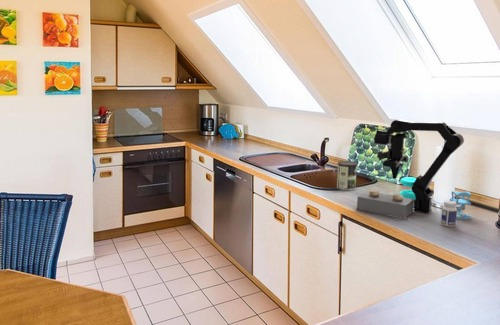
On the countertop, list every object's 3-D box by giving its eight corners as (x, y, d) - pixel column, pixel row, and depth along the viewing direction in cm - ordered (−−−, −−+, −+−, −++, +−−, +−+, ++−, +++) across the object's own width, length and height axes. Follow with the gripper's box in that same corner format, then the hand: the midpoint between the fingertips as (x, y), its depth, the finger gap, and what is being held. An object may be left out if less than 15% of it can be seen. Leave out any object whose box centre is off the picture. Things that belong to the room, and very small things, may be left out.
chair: (463, 213, 197) (465, 187, 194) (471, 219, 189) (474, 192, 186) (445, 213, 197) (448, 187, 195) (453, 219, 189) (456, 192, 186)
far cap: (379, 204, 203) (380, 191, 202) (376, 207, 200) (377, 193, 199) (370, 203, 206) (371, 189, 205) (367, 205, 203) (367, 191, 201)
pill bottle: (456, 224, 183) (458, 201, 181) (454, 228, 178) (457, 204, 176) (441, 221, 185) (443, 199, 183) (439, 225, 181) (441, 202, 179)
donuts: (400, 176, 224) (420, 177, 221) (398, 194, 226) (418, 196, 223) (402, 180, 214) (423, 182, 212) (400, 200, 216) (421, 201, 214)
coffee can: (354, 185, 242) (356, 161, 239) (356, 190, 232) (357, 165, 229) (336, 185, 244) (337, 160, 241) (336, 189, 234) (338, 164, 231)
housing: (412, 211, 198) (413, 199, 197) (404, 218, 189) (405, 205, 188) (366, 202, 211) (367, 191, 210) (356, 208, 202) (357, 196, 201)
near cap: (403, 209, 197) (404, 195, 196) (400, 211, 193) (401, 197, 192) (393, 207, 200) (394, 193, 198) (390, 210, 196) (391, 196, 195)
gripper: (387, 142, 214) (384, 172, 218) (372, 147, 200) (370, 180, 203) (409, 144, 208) (407, 175, 211) (396, 149, 193) (394, 183, 196)
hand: (394, 178), depth 205 cm, fingers closed
